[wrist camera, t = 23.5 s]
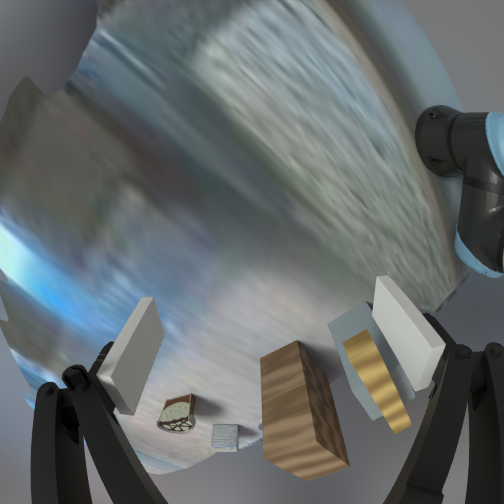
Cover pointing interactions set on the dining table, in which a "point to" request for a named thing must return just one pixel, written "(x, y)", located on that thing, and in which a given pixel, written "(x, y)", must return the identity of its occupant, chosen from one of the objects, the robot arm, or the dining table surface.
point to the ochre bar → (377, 379)
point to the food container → (178, 415)
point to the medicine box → (225, 438)
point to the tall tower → (299, 415)
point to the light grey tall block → (363, 320)
